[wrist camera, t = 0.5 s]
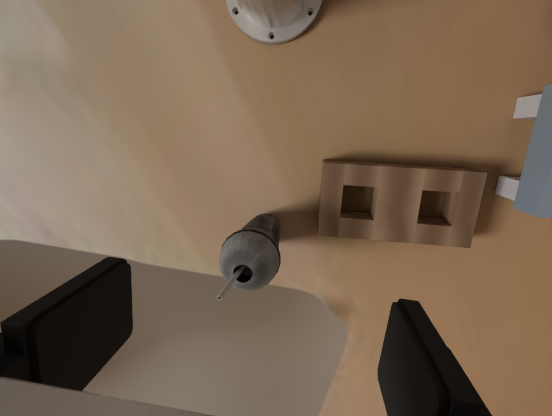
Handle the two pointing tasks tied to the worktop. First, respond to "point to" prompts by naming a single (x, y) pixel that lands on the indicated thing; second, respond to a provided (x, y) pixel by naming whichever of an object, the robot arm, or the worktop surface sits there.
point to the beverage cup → (251, 255)
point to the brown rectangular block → (401, 202)
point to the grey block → (533, 159)
